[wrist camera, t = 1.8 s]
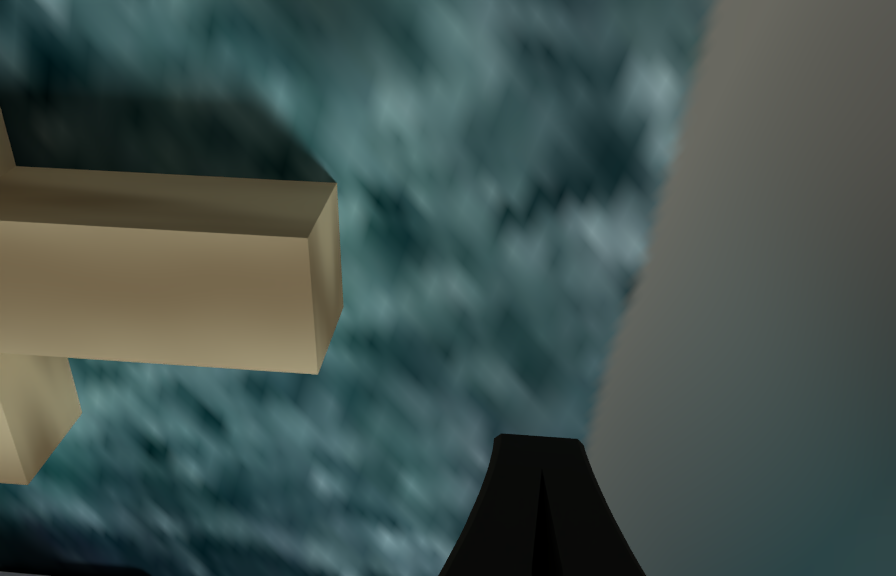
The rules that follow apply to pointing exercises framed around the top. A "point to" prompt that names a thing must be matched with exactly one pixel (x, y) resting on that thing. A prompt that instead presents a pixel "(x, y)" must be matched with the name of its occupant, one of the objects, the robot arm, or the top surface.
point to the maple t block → (152, 284)
